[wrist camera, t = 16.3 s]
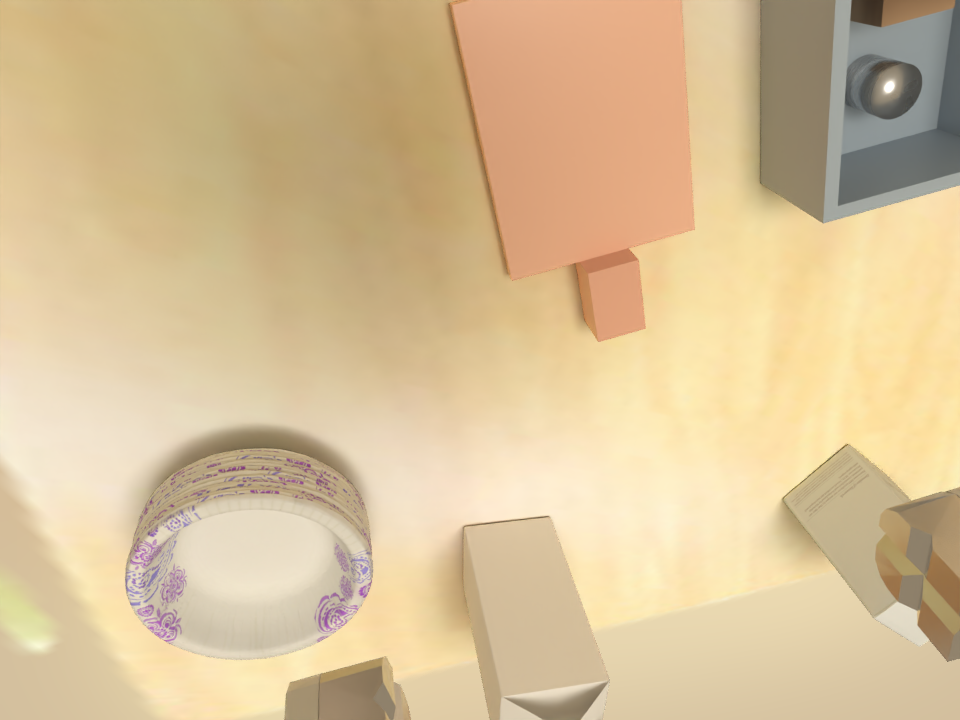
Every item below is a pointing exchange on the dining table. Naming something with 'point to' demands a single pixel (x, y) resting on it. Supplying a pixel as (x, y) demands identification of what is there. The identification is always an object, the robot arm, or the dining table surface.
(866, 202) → the tub
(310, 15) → the dining table surface
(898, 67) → the metal knob
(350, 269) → the dining table surface
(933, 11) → the walnut block
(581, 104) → the lid
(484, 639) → the milk carton
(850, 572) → the supplement box
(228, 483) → the paper bowls
